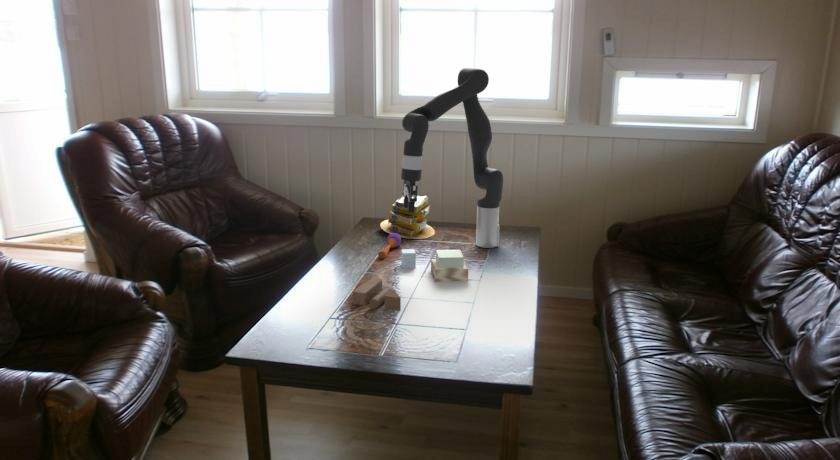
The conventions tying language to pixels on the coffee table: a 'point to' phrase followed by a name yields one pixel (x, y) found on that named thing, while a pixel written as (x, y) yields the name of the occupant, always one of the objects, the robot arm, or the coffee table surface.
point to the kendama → (390, 244)
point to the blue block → (408, 258)
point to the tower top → (449, 259)
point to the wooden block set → (369, 292)
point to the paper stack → (409, 220)
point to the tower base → (448, 273)
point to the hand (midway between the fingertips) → (408, 209)
